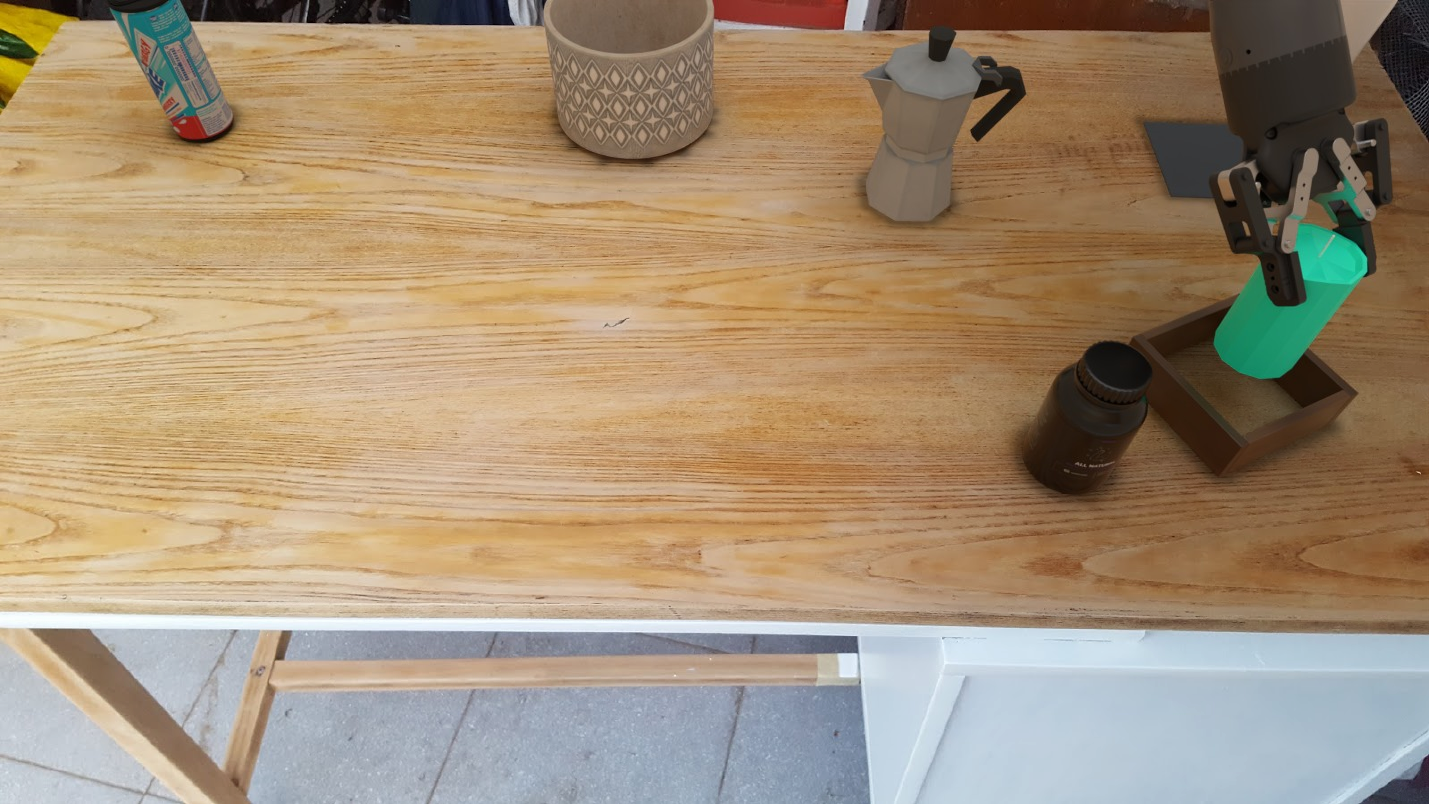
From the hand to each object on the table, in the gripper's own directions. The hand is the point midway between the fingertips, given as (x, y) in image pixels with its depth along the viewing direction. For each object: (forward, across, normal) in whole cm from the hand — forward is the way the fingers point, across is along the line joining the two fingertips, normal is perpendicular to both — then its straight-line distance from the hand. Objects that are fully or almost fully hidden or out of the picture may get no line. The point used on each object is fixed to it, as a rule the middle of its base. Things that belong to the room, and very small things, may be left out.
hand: (1325, 289), depth 66 cm
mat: (-7, +21, +28) cm, 36 cm away
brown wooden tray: (+9, 0, +11) cm, 15 cm away
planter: (-30, -30, +50) cm, 66 cm away
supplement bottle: (+9, -16, +12) cm, 22 cm away
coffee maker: (-13, -9, +34) cm, 38 cm away
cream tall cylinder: (-11, +40, +33) cm, 53 cm away
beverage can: (-43, -71, +63) cm, 104 cm away
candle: (+5, 0, +7) cm, 9 cm away
